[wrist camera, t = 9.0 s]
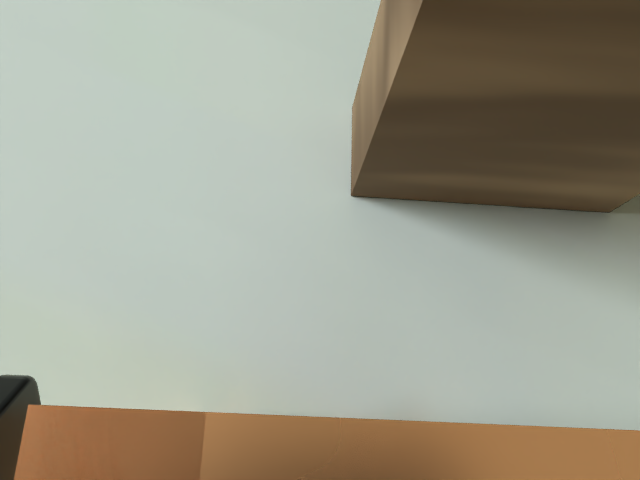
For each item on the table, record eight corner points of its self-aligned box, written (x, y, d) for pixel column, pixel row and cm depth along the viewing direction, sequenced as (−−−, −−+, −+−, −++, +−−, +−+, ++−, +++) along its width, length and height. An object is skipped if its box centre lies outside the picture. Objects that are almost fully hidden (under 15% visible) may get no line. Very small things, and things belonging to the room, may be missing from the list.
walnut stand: (637, 417, 15) (1738, 405, 4) (347, 407, 15) (626, 357, 3) (597, 125, 18) (1161, -380, 7) (352, 107, 17) (510, -484, 6)
